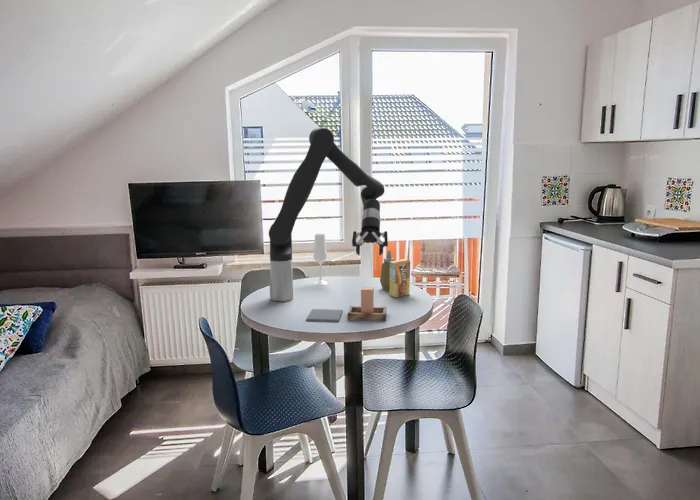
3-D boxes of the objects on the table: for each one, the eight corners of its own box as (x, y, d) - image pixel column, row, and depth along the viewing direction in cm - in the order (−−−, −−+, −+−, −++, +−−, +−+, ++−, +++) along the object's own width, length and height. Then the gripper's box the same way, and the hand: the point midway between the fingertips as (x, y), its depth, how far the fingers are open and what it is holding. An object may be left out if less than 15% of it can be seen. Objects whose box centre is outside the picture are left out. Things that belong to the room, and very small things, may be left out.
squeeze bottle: (392, 292, 211) (392, 252, 208) (376, 289, 215) (376, 251, 212) (400, 288, 217) (400, 249, 214) (385, 285, 222) (385, 248, 219)
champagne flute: (330, 283, 228) (329, 234, 223) (320, 285, 223) (319, 235, 219) (321, 280, 232) (320, 232, 228) (311, 283, 227) (309, 234, 223)
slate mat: (306, 320, 172) (306, 318, 172) (312, 311, 184) (312, 309, 184) (338, 321, 171) (338, 319, 171) (342, 311, 183) (342, 309, 183)
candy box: (403, 292, 210) (403, 258, 208) (410, 294, 207) (410, 260, 204) (388, 295, 205) (389, 261, 202) (395, 297, 202) (396, 262, 199)
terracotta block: (361, 318, 175) (361, 289, 173) (362, 314, 179) (361, 286, 177) (372, 318, 174) (372, 289, 172) (373, 314, 179) (373, 286, 177)
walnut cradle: (347, 319, 173) (347, 313, 173) (350, 312, 182) (350, 306, 181) (385, 320, 172) (385, 314, 171) (386, 313, 180) (386, 307, 180)
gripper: (353, 216, 191) (350, 248, 182) (388, 215, 190) (387, 248, 180) (354, 227, 197) (352, 259, 188) (388, 227, 196) (387, 259, 187)
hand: (369, 254), depth 184 cm, fingers open, 8 cm apart
